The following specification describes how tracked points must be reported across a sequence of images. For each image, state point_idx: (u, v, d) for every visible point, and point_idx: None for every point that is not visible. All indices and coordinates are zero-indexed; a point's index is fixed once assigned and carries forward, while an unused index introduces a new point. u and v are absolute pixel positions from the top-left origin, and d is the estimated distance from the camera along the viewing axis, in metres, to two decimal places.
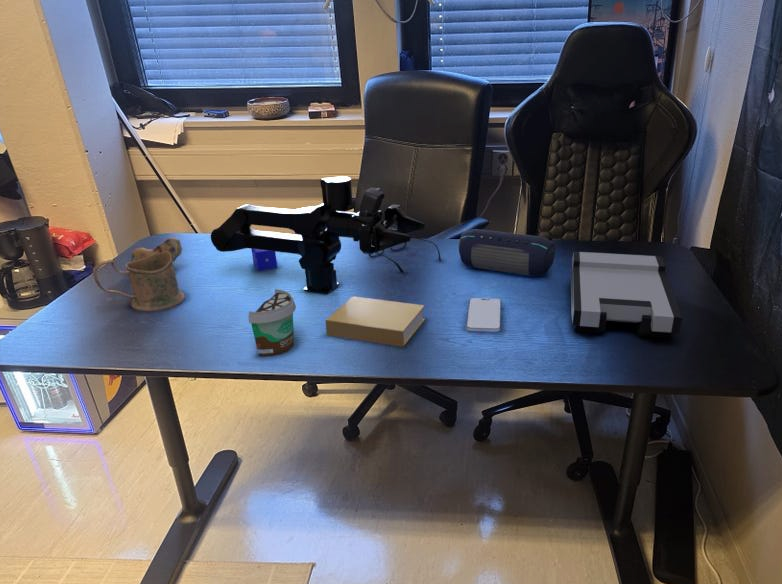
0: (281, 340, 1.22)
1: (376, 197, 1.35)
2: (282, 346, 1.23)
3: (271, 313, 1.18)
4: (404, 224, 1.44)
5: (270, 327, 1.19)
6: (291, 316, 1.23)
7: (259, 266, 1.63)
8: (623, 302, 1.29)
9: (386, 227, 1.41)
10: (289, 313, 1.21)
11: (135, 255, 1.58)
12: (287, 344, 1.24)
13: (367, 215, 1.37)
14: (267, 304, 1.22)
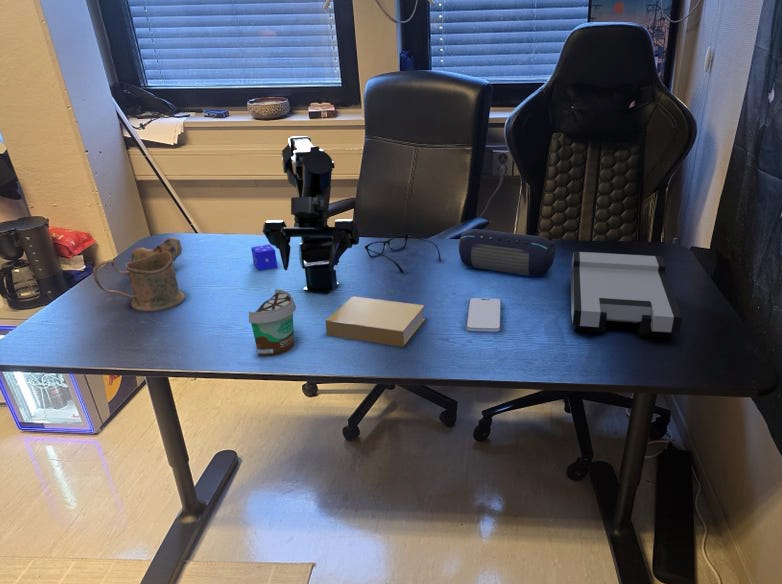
0: (281, 340, 1.22)
1: (292, 211, 1.22)
2: (282, 346, 1.23)
3: (271, 313, 1.18)
4: None
5: (270, 327, 1.19)
6: (291, 316, 1.23)
7: (259, 266, 1.63)
8: (623, 302, 1.29)
9: (316, 235, 1.29)
10: (289, 313, 1.21)
11: (135, 255, 1.58)
12: (287, 344, 1.24)
13: None
14: (267, 304, 1.22)
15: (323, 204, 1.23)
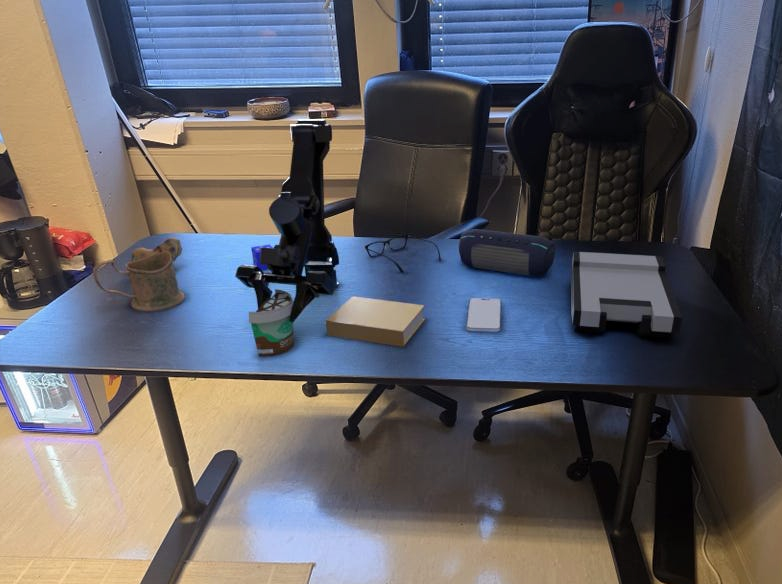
0: (281, 340, 1.22)
1: (260, 262, 1.17)
2: (282, 346, 1.23)
3: (271, 313, 1.18)
4: None
5: (270, 327, 1.19)
6: None
7: (259, 266, 1.63)
8: (623, 302, 1.29)
9: (289, 283, 1.24)
10: (289, 313, 1.21)
11: (135, 255, 1.58)
12: (287, 344, 1.24)
13: None
14: (267, 304, 1.22)
15: (292, 257, 1.17)
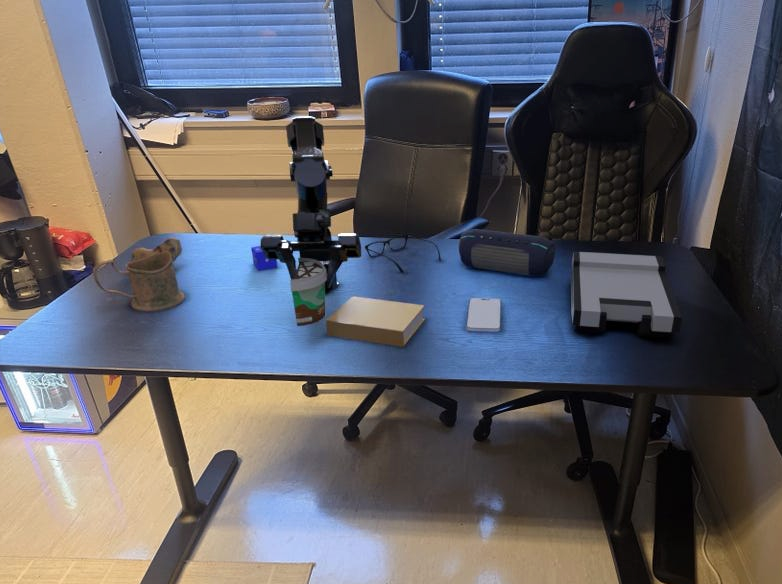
0: (319, 307, 1.21)
1: (295, 228, 1.15)
2: (319, 313, 1.22)
3: (312, 279, 1.17)
4: None
5: (310, 294, 1.18)
6: None
7: (259, 266, 1.63)
8: (623, 302, 1.29)
9: (316, 249, 1.22)
10: (326, 278, 1.20)
11: (135, 255, 1.58)
12: (323, 311, 1.23)
13: None
14: (300, 272, 1.20)
15: (327, 220, 1.16)
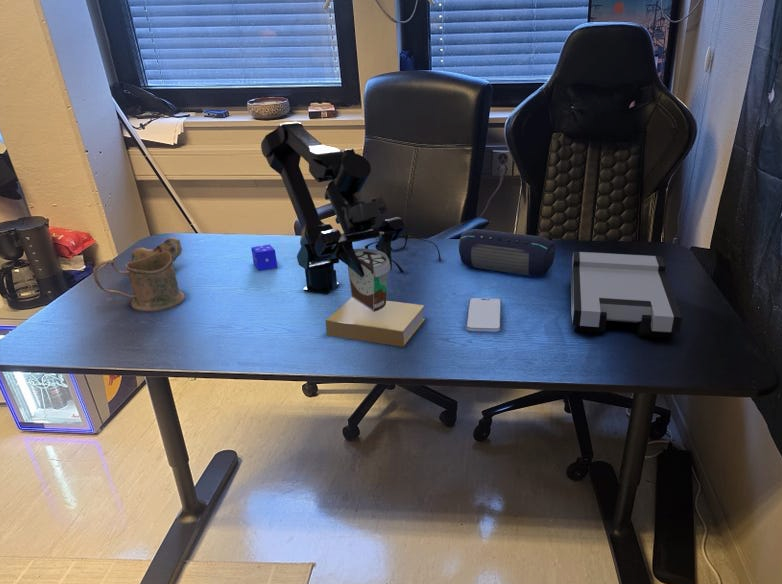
0: None
1: (363, 218, 1.21)
2: None
3: (387, 263, 1.24)
4: (381, 248, 1.30)
5: (385, 278, 1.25)
6: None
7: (259, 266, 1.63)
8: (623, 302, 1.29)
9: (366, 238, 1.29)
10: None
11: (135, 255, 1.58)
12: None
13: (350, 220, 1.24)
14: (365, 260, 1.25)
15: (385, 206, 1.25)
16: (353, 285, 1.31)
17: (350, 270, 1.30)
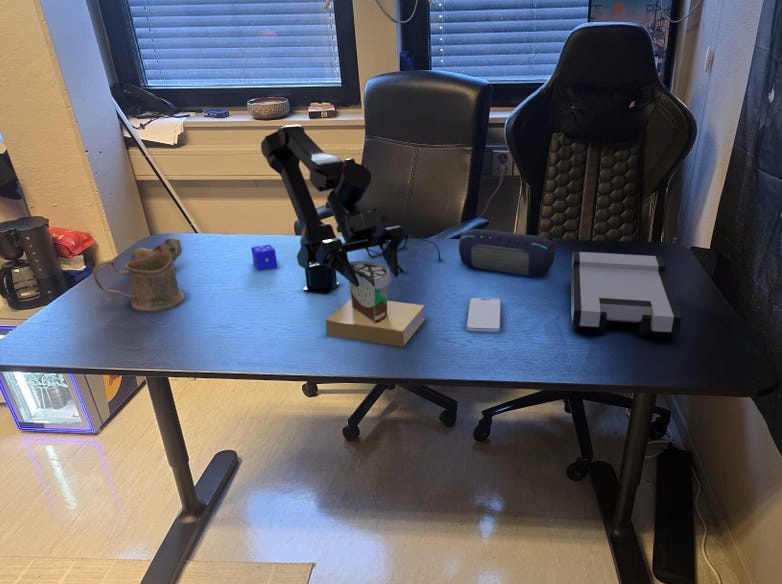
0: None
1: (364, 227, 1.22)
2: None
3: (387, 275, 1.25)
4: (388, 255, 1.31)
5: (385, 290, 1.27)
6: None
7: (259, 266, 1.63)
8: (623, 302, 1.29)
9: (366, 247, 1.30)
10: None
11: (135, 255, 1.58)
12: None
13: (351, 229, 1.25)
14: (366, 272, 1.27)
15: (386, 215, 1.25)
16: (354, 297, 1.32)
17: None
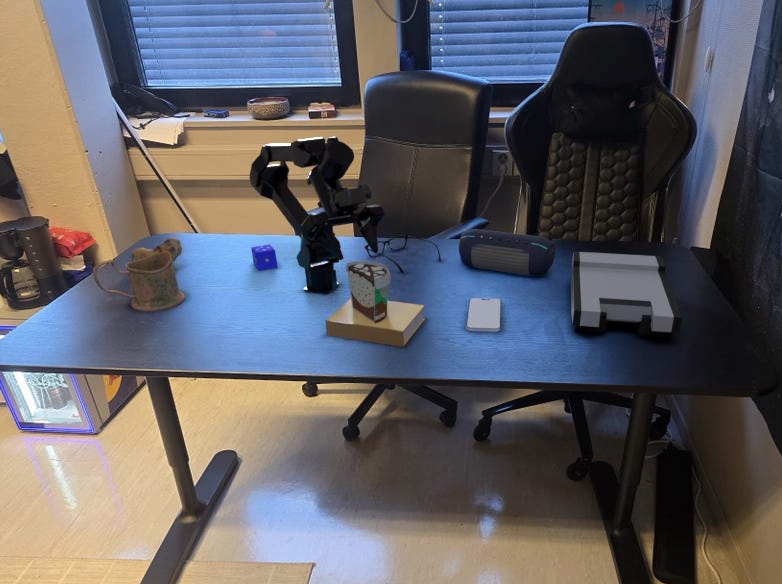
0: None
1: (351, 203, 1.28)
2: None
3: (387, 275, 1.25)
4: (367, 232, 1.38)
5: (385, 290, 1.27)
6: None
7: (259, 266, 1.63)
8: (623, 302, 1.29)
9: (348, 223, 1.35)
10: None
11: (135, 255, 1.58)
12: None
13: (336, 204, 1.31)
14: (366, 272, 1.27)
15: (370, 193, 1.32)
16: (354, 297, 1.32)
17: (351, 282, 1.31)
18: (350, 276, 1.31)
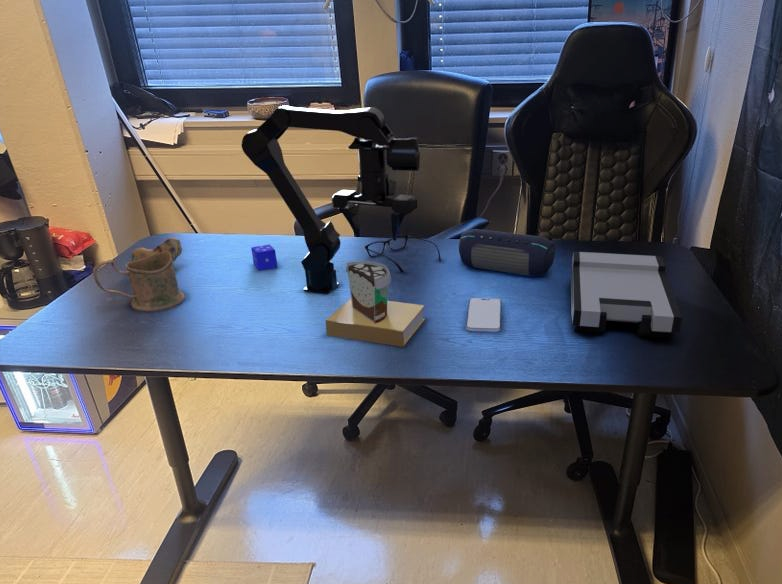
0: None
1: None
2: None
3: (387, 275, 1.25)
4: (355, 215, 1.44)
5: (385, 290, 1.27)
6: None
7: (259, 266, 1.63)
8: (623, 302, 1.29)
9: None
10: None
11: (135, 255, 1.58)
12: None
13: None
14: (366, 272, 1.27)
15: None
16: (354, 297, 1.32)
17: (351, 282, 1.31)
18: (350, 276, 1.31)
